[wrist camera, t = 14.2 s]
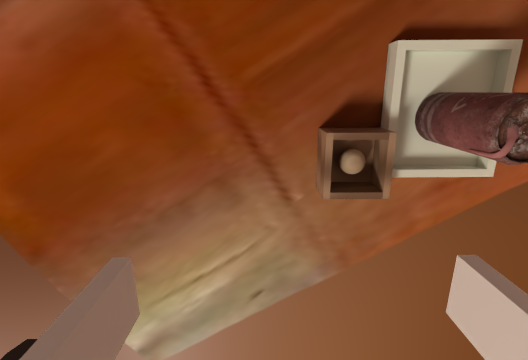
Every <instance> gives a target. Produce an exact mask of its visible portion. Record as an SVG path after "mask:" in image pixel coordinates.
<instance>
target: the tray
mask: <svg viewBox="0 0 528 360" xmlns="http://www.w3.org/2000/svg"><path fill="white" fill-rule="evenodd" d="M522 42H523V39H510V40H398V41H395V42H392V43H390V44H389V49H388V59H387V68H386V78H385V88H384V97H383V107H382V117H381V126H380V128H384V129H387V130H390V131H393V132H397V135H396V144H395V152H394V161H393V169H392V177H493V175H494V170H495V166H496V161H495V160H492V159H488V158H485V157H481V156H478V155H475V154H471V153H468V152H465V151H461V150H458V149H455V148H451V147H448V146H445V145H441V144H438V143H434V142H431V141H428V140H425V139H424V138H423V137H421V136H420V135H419V133H418V132H417V130H416V126H415V115H416V112H417V110H418V108H419V106H420V105H421V103H422V102H423V101H424V100H425V99H427V98H428V97H429V96H431V95H433V94H436V93H439V92H494V93H512V88H513V84H514V79H515V74H516V70H517V65H518V61H519V56H520V52H521V47H522Z"/></svg>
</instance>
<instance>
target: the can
mask: <svg viewBox="0 0 528 360" xmlns="http://www.w3.org/2000/svg"><path fill="white" fill-rule="evenodd" d="M415 126H416V130H417V132H418V133H419V135H420V136H421V137H423V138H424V139H425V140H428V141H431V142H434V143H438V144H441V145H445V146H448V147H451V148H455V149H458V150H461V151H465V152H468V153H471V154H475V155H478V156H481V157H485V158H488V159H492V160H495V161H498V162H502V163H505V164H508V165H514V164H523V163H528V93H494V92H439V93H436V94H433V95H431V96H429V97H428V98H427V99H425V100H424V101H423V102H422V103H421V105H420V106H419V108H418V110H417V112H416V115H415Z"/></svg>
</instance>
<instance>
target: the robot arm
mask: <svg viewBox="0 0 528 360" xmlns="http://www.w3.org/2000/svg"><path fill="white" fill-rule="evenodd" d="M446 313H447V314H448V315H449V317H450V318H451V319H452V320H453V321H454V323H455V324H456V325H457V326H458V327H459V329H460V330H461V331H462V332H463V333H464V335H465V336H466V337H467V338H468V340H469V341H470V342H471V343H472V344H473V346H474V347H475V348H476V349H477V350H478V352H479V353H480V354H481V355H482V356H483V358H484V359H485V360H528V294H526V293H525V292H524V291H522V290H521V289H519V287H517V286H516V285H515V284H513V283H512V282H511V281H509V280H508V279H507V278H506V277H504V276H503V275H502V274H500V273H499V272H498V271H496V270H495V269H494V268H492V267H491V266H490V265H488V264H487V263H486V262H485V261H483V260H482V259H481V258H480V257H478V256H477V255H457V259H456V264H455V270H454V274H453V279H452V284H451V289H450V294H449V299H448V304H447V309H446ZM139 315H140V312H139V306H138V299H137V292H136V286H135V279H134V272H133V265H132V259H131V257H112V258H111V259H110V260H109V262H108V263H107V264H106V265H105V266H104V267H103V268H102V269H101V270H100V271H99V273H98V274H97V275H96V276H95V277H94V278H93V279H92V280H91V281H90V282H89V284H88V285H87V286H86V287H85V288H84V289H83V290H82V291H81V292H80V293H79V295H78V296H77V297H76V298H75V299H74V300H73V301H72V302H71V303H70V305H69V306H68V307H67V308H66V309H65V310H64V311H63V312H62V313H61V314H60V316H59V317H58V318H57V319H56V320H55V321H54V322H53V323H52V324H51V325H50V327H49V328H48V329H47V330H46V331H45V332H44V333H43V334H42V335H41V336H40V338H39V339H27V340H25V341H24V342H22V343H21V344H20V345H18V346H17V347H16V348H14V349H12V350H11V351H10V352H8V353H7V354H6V355H5V356H4V357H3V358H2V359H1V360H115V358H116V356H117V354H118V353H119V351H120V349H121V347H122V345H123V344H124V342H125V340H126V338H127V336H128V335H129V333H130V331H131V329H132V327H133V326H134V324H135V322H136V320H137V318H138V317H139Z"/></svg>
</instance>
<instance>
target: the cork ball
mask: <svg viewBox="0 0 528 360" xmlns="http://www.w3.org/2000/svg"><path fill="white" fill-rule="evenodd" d="M339 165H340V168H341V169H342V170H343V171H344V172H345V173H348V174H356V173H359V172H360V171H361V170H362V169H363V168H364V166H365V157H364V155H363V154H362V152H360V151H359V150H356V149H348V150H346V151H344V152H343V153H342V154H341V156H340V158H339Z"/></svg>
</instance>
